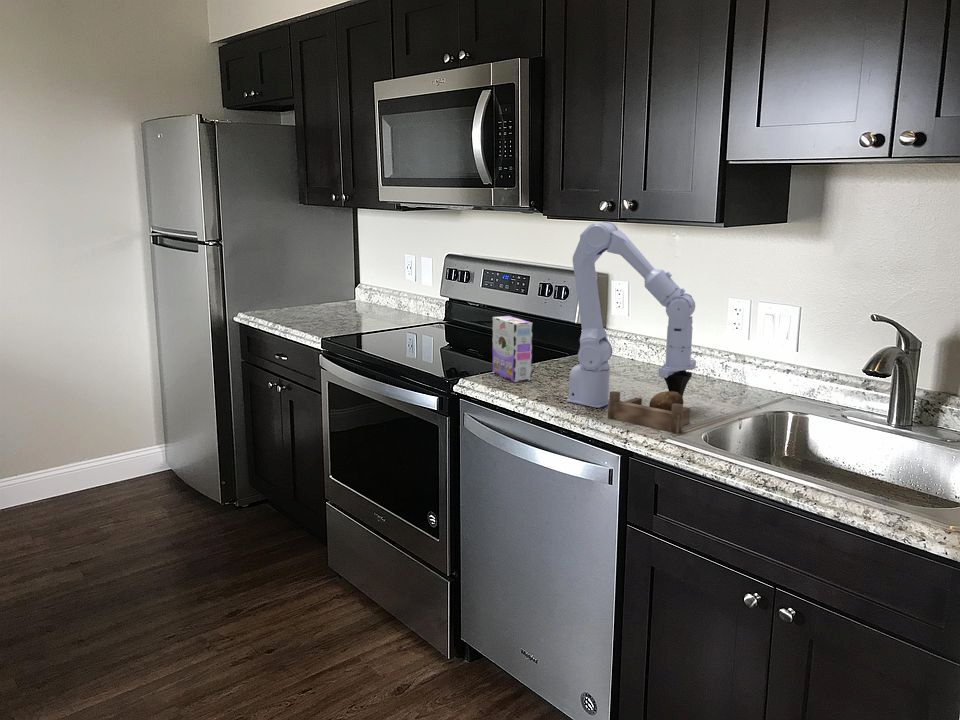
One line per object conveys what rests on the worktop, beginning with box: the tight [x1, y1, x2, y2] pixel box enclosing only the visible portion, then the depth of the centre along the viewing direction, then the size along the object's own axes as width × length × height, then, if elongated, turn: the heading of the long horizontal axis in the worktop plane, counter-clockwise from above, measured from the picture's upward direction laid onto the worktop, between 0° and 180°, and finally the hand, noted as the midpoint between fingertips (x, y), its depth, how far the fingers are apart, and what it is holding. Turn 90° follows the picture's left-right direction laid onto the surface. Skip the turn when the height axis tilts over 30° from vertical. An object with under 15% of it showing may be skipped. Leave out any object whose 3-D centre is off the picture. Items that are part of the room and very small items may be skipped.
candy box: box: [491, 315, 534, 383], centre depth 232 cm, size 14×6×16 cm, turn 25°
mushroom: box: [648, 390, 684, 411], centre depth 195 cm, size 8×8×6 cm
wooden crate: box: [607, 390, 691, 434], centre depth 190 cm, size 18×9×6 cm, turn 48°
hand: (675, 402), depth 198 cm, fingers closed
